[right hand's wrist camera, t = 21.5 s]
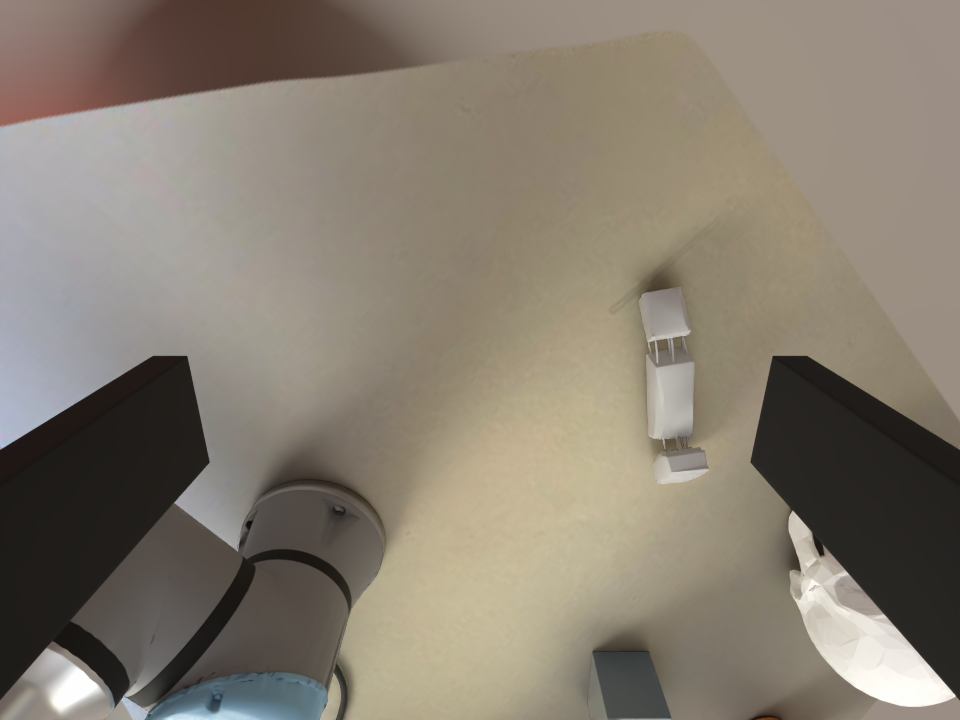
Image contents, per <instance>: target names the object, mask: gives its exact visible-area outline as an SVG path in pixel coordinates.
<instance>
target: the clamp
mask: <svg viewBox="0 0 960 720" xmlns="http://www.w3.org/2000/svg"><path fill="white" fill-rule="evenodd" d="M639 307H640V311H641V316H642V320H643V325H644V330H645V334H646V339H647V342H648V347H649V351H650V352H648V353H647V354H646V376H647V415H648V435H649V436H650V437H651V438H653V439H659V440H661V439H663V445H664V449H665V451H662V452H660V453H659V454H658V456H657V457H656V458H655V459H654V461H653V463H652V466H653V470H654V474H655V478H656V481H657V482H658V483H659V484H665V483H675V482H684V481H690V480H692V479H694V478H696V477H698V476H701V475H703V474H705V473H707V471H708V470H709V467H708V466H707V463H706V455H705V451H704V450H701V448H700V447H698V448H692V447H688V437H692V426H693V395H694V374H695V362H694V359H693V358H692V357H691V355H690V354H689V352H688V350H687V347H686V344H685V337H684V336H685V335H688V334H689V333H690V332H691V327H690V321H689V316H688V312H687V308H686V303H685V300H684V296H683V293H682V289H681V287H674V288H668V289H663V290H657V291H651V292H645V293H644V294H642V296H641V298H640V300H639ZM679 336H681V338H682V346H681V347H675V348H674V346H673V337H679ZM667 338H668V346H669V349H663V350H658V346H657V340H661V339H667ZM670 340H671V344H670ZM651 341H655V348H656V351H652V350H651V346H650V342H651ZM684 347H685V348H684ZM682 437H686V448H684V445H683V440H682ZM671 438H676V449H674V450H668V451H667V449H666V444H665V439H671ZM678 438H680V440H681V445H682V448H681V449H678Z"/></svg>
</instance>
